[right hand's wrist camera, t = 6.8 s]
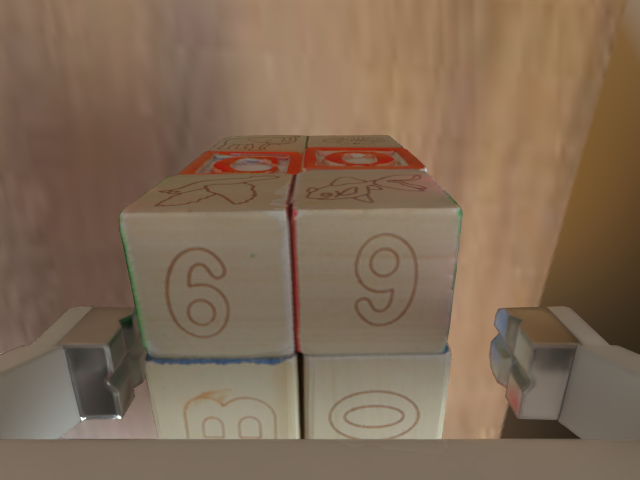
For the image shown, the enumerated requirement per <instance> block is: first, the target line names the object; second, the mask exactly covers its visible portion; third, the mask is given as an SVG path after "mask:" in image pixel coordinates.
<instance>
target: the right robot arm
mask: <svg viewBox="0 0 640 480" xmlns="http://www.w3.org/2000/svg"><path fill="white" fill-rule="evenodd" d="M494 326H495V328H496V329H497V331H498V332H499V334H498V335H497V336H496V337H495V338H494V339H493V340H492V341H491V345H490V353H489V356H490V366H491V369H492V373H493V375H494V377H495V379H496V381H497V383H499V384H500V385H502V386H504V387H505V388H507V389H506V395H505V397H506V399H507V400H508V402H509V404H510V406H511V407H512V409H513V411H514V413H515V414H516V416H517V418H518V419H551V420H559V422H560V423H561V424H563V425H564V426H565V427H567V428H568V429H569V430H571V431H572V432H573V433H575V434H576V435H577V436H579V437H580V438H581V439H59V438H60V437H62V436H63V435H64V434H66V433H67V432H68V431H70V430H71V429H72V428H74V427H75V426H76V425H78V424H79V423H80V422H81V420H89V419H122V418H123V416H124V414H125V413H126V411H127V409H128V407H129V406H130V404H131V402H132V400H133V399H134V397H135V395H134V389H133V388H135V387H136V386H138V385H140V384H141V383H143V381H144V379H145V377H146V375H145V365H144V361H145V358H146V355H147V351H146V349H145V347H144V346H143V343H142V337H141V332H140V329H139V325H138V320H137V315H136V310H135V308H132V307H95V306H90V307H71V308H69V309H68V310H67V311H66V312H65V313H64V314H63V315H62V316H61V317H60V318H59V319H58V320H57V321H55V322H54V323H53V324H52V325H51V326H50V327H49V328H48V329H47V330H46V331H45V332H44V333H43V334H42V335H41V336H40V337H38V338H37V339H36V340H35V341H34V342H33V343H32V344H31V345H29V346H20V347H18V348H16V349H13V350H11V351H8V352H6V353H4V354H1V355H0V480H640V355H639V354H636V353H634V352H632V351H629V350H627V349H624V348H622V347H620V346H611V345H609V344H608V343H607V342H606V341H605V340H604V339H603V338H602V337H601V336H599V335H598V334H597V333H596V332H595V331H594V330H593V329H592V328H591V327H590V326H589V325H588V324H587V323H586V322H585V321H584V320H582V319H581V318H580V317H579V316H578V315H577V314H576V313H575V312H574V311H573V310H572V309H571V308H568V307H565V306H560V307H520V308H499V309H498V311H497V313H496V315H495V320H494Z"/></svg>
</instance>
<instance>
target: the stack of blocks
mask: <svg viewBox="0 0 640 480" xmlns="http://www.w3.org/2000/svg"><path fill="white" fill-rule="evenodd" d="M462 215H463V214H462V209H461V207H460V206H459V205H458V204H457V203H456V202H455V201H454V200H453V198H452V197H451V196H450V195H449V194H448V193H447V192H446V191H445V190H444V189H443V188H442V187H441V186H440V185H438V184H437V183H436V182H435V180H434V179H433V178H432V177H431V176H430V175H428V174H427V168H426V167H425V165H424V164H422V163H421V162H420V161H419V160H418V159H417V158H416V157H415V156H414V155H412V154H411V153H410V152H409V151H408V150H407V149H404V148H403V147H402V146H401V145H400V144H398V143H397V142H396V141H395V140H394V139H392V138H391V137H390V136H388V135H358V136H301V135H260V136H237V137H227V138H224V139H223V140H221V141H220V142H219V143H218V144H216V145H215V146H214V147H213V148H212V149H211V150H210V151H207V152H204V153H203V154H202V155H201V156H199V157H198V158H197V159H196V160H194V161H193V162H192V163H191V164H189V165H188V166H187V167H186V168H185V169H184V170H183V171H182V172H181V173H180V174H178V175H174V176H170V177H167V178H166V179H164V180H163V181H162V182H161V183H159V184H158V185H157V186H155V187H154V188H152V189H151V190H150V191H148V192H147V193H146V194H144V195H143V196H141V197H140V198H139V199H137V200H136V201H135V202H133V203H132V204H131V205H129V206H128V207H126V208H125V209H124V210H123V211H122V213H121V214H120V215H119V230H120V235H121V239H122V243H123V247H124V252H125V258H126V263H127V268H128V273H129V278H130V283H131V287H132V292H133V297H134V303H135V310H136V315H137V320H138V325H139V329H140V332H141V337H142V343H143V346H144V347H145V349H146V351H147V355H146V358H145V361H144V365H145V375H146V379H147V384H148V388H149V394H150V400H151V405H152V411H153V416H154V421H155V426H156V430H157V435H158V439H441V438H442V431H443V423H444V415H445V407H446V398H447V389H448V381H449V372H450V364H451V350H450V347H449V345H448V343H447V340H448V334H449V328H450V320H451V312H452V302H453V293H454V285H455V278H456V271H457V257H458V251H459V243H460V234H461V224H462Z"/></svg>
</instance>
